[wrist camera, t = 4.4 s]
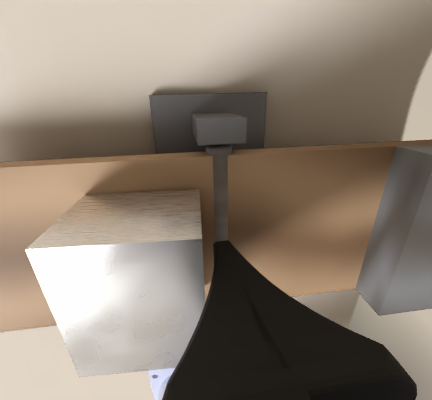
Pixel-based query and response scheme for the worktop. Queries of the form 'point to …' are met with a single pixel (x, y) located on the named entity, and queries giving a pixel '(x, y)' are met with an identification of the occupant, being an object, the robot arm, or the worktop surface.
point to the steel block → (124, 279)
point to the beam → (250, 216)
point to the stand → (208, 121)
